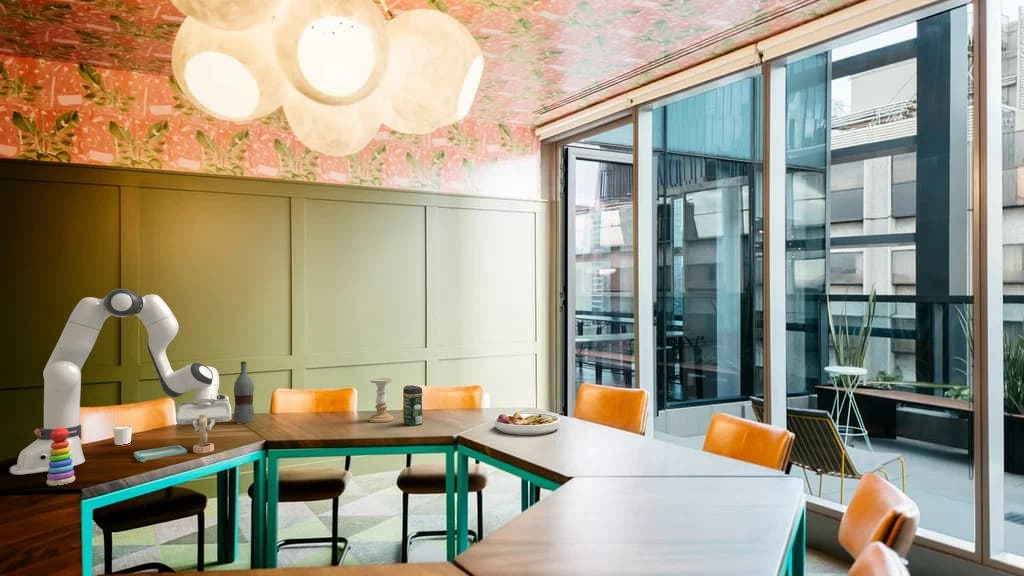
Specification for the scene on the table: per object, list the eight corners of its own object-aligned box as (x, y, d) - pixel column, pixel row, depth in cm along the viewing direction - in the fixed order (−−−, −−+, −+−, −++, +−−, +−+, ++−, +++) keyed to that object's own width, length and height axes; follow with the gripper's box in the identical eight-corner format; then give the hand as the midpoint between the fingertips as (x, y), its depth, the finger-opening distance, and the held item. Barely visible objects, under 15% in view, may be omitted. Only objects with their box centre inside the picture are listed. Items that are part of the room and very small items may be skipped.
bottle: (246, 424, 310) (246, 362, 310) (229, 424, 311) (229, 362, 312) (257, 420, 319) (257, 360, 319) (241, 420, 320) (240, 360, 321)
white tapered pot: (123, 446, 267) (123, 429, 267) (109, 445, 269) (109, 429, 269) (136, 442, 274) (135, 426, 274) (122, 441, 275) (122, 425, 275)
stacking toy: (76, 478, 220) (76, 423, 220) (73, 484, 213) (73, 428, 213) (48, 481, 216) (48, 426, 216) (44, 488, 209) (44, 430, 209)
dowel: (200, 451, 252) (200, 416, 253) (198, 450, 254) (198, 415, 255) (208, 450, 254) (208, 415, 254) (206, 449, 256) (205, 414, 257)
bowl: (542, 421, 313) (542, 405, 313) (571, 433, 285) (571, 415, 285) (485, 426, 301) (485, 409, 301) (509, 439, 274) (509, 421, 274)
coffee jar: (400, 423, 308) (400, 385, 309) (415, 421, 313) (415, 383, 313) (410, 426, 301) (410, 387, 301) (425, 424, 306) (424, 385, 306)
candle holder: (363, 422, 313) (363, 380, 313) (376, 417, 325) (376, 377, 325) (386, 423, 309) (385, 381, 309) (398, 418, 321) (398, 378, 321)
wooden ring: (196, 455, 249) (196, 448, 250) (191, 452, 255) (191, 445, 255) (215, 452, 254) (215, 445, 254) (210, 449, 259) (210, 442, 259)
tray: (140, 462, 240) (140, 456, 240) (133, 457, 248) (133, 451, 248) (186, 455, 251) (186, 449, 251) (178, 450, 259) (178, 444, 259)
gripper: (176, 398, 258) (172, 427, 248) (232, 395, 265) (230, 424, 255) (178, 408, 262) (174, 437, 253) (233, 404, 269) (231, 432, 259)
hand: (203, 430), depth 254 cm, fingers closed on dowel, 3 cm apart
